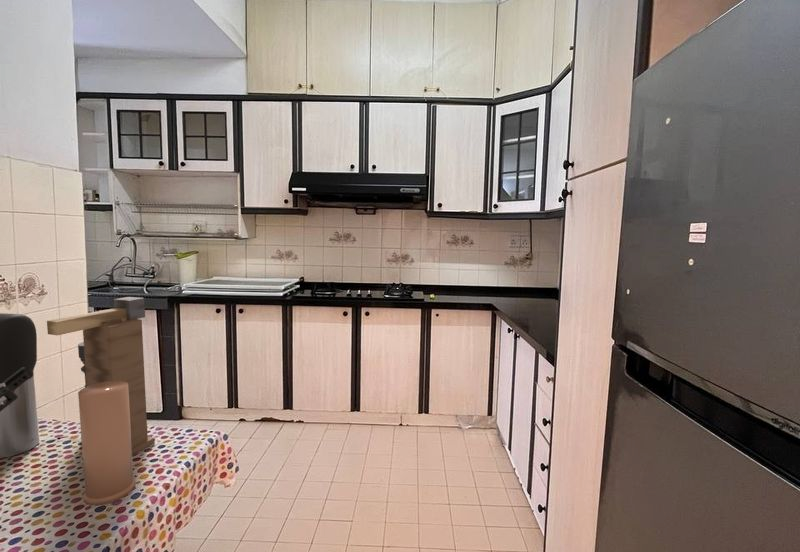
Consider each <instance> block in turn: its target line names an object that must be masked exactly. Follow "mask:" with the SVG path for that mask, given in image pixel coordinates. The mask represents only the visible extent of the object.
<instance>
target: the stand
mask: <svg viewBox="0 0 800 552" xmlns="http://www.w3.org/2000/svg"><path fill="white" fill-rule="evenodd" d="M82 336H83V338H82V339H83V342H84V355H85V370H86V385H87V386H90V385H93V384H97V383H102V382H108V381H124V382H127V383H128V390H129V408H130V426H131V444H132V458H133V457H134V456H136V455H137V454H139V453H141V452H143V451H144V450H146V449H148V448H150V447H151V446H153V445H155V444H156V443H155V442H156V441H155V437H153V436H148V421H147V419H148V418H147V417H148V416H147V401H146V399H147V396H146V381H145V379H146V377H145V357H144V356H145V355H144V339H143V320H142V319H141V318H139V319H135V320H125V321H122V318H118V319H113V320H108V321H104V322H102V326H98V327H94V328H89V329H85V330H82Z"/></svg>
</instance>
